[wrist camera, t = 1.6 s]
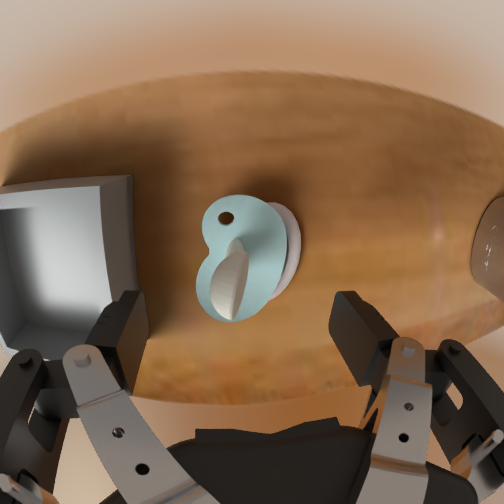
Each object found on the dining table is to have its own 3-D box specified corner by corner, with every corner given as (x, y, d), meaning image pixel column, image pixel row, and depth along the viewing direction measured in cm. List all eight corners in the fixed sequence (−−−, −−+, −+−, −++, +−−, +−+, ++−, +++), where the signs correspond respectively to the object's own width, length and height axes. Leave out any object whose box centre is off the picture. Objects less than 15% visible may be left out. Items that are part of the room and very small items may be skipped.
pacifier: (308, 199, 16) (207, 184, 15) (358, 230, 10) (201, 207, 9) (284, 305, 18) (195, 298, 17) (311, 369, 13) (189, 367, 12)
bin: (132, 174, 14) (99, 186, 10) (147, 340, 18) (133, 384, 14) (1, 186, 13) (-40, 200, 8) (29, 321, 17) (4, 352, 13)
